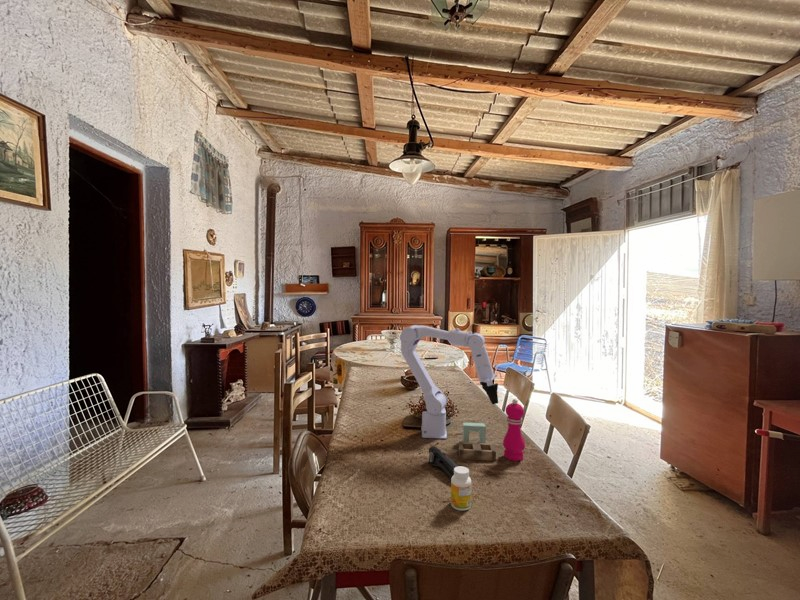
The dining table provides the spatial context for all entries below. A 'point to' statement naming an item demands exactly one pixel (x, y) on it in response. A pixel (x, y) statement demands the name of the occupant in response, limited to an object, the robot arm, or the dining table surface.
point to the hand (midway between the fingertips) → (493, 401)
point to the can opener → (441, 460)
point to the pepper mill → (514, 432)
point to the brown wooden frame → (477, 451)
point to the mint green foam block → (474, 427)
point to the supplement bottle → (461, 489)
